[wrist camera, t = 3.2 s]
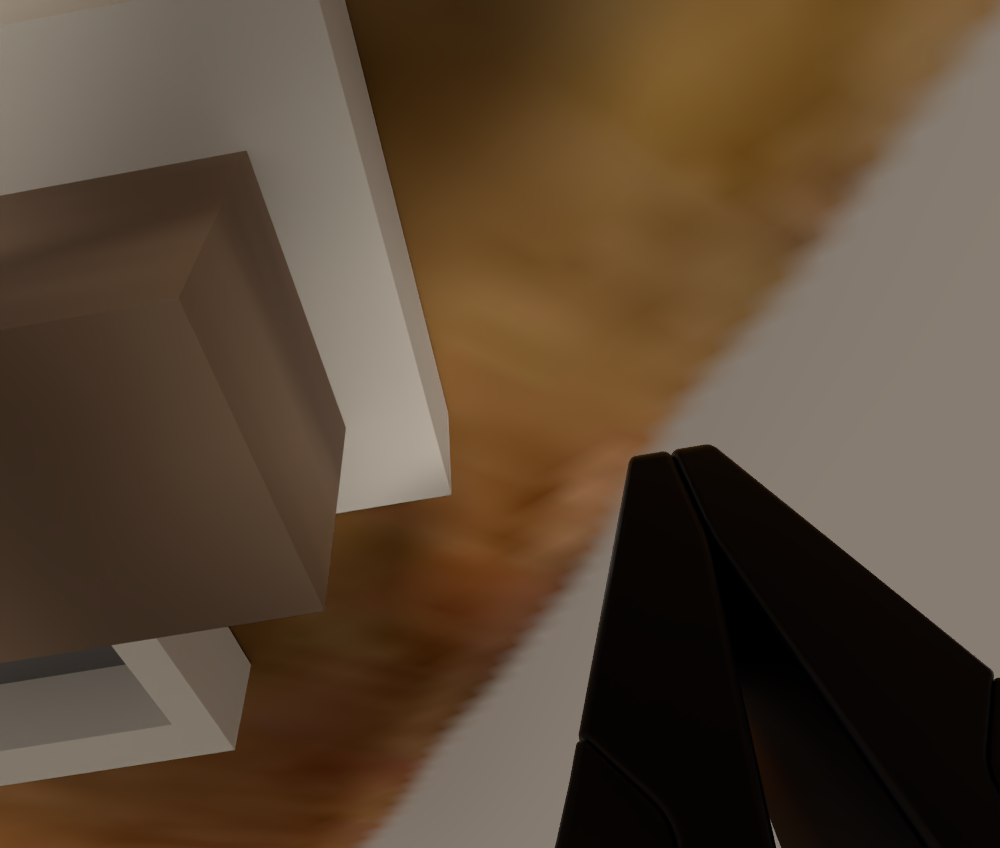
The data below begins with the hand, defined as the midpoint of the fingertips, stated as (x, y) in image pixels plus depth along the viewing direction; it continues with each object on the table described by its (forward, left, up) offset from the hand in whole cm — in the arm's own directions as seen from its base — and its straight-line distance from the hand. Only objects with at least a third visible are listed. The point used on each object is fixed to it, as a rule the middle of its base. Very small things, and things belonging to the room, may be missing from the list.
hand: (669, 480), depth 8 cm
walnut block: (+7, 0, -5) cm, 9 cm away
